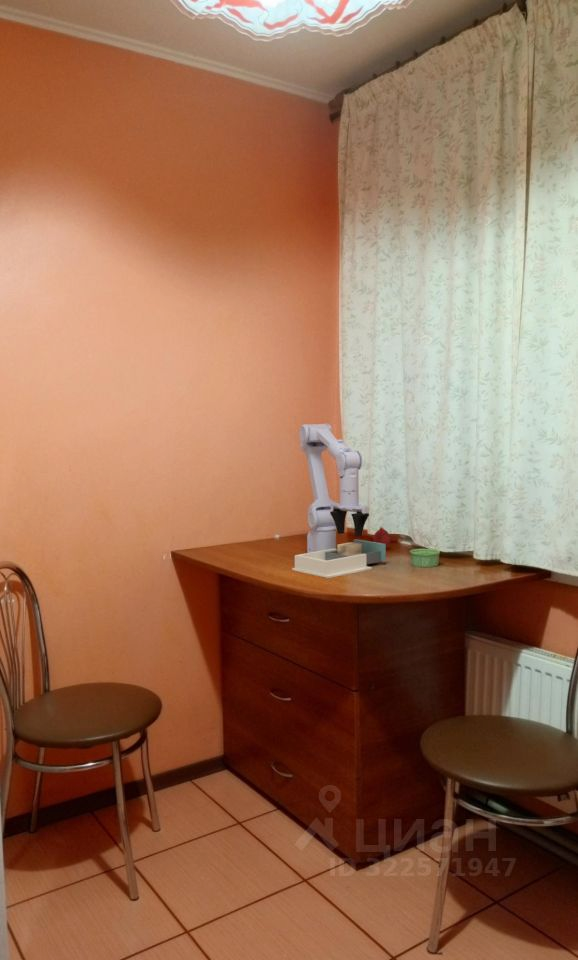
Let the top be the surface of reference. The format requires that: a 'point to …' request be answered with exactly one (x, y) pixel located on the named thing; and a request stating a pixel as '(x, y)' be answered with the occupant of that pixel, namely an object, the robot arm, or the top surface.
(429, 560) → the ramekin
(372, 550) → the tray
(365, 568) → the housing
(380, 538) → the onion
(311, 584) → the top surface
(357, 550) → the block
